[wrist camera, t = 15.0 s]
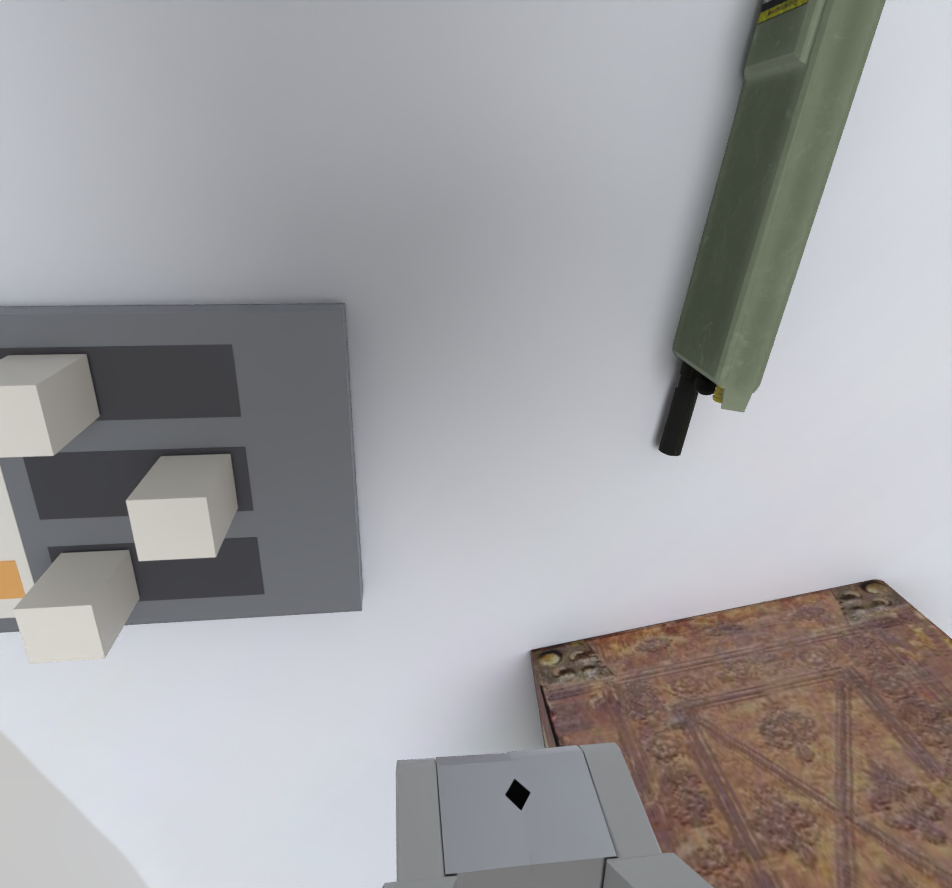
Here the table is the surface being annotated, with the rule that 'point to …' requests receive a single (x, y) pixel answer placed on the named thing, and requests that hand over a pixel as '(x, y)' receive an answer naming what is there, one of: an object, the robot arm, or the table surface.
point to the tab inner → (44, 403)
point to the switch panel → (196, 433)
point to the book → (777, 736)
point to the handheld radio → (767, 196)
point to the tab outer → (77, 606)
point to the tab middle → (183, 507)
